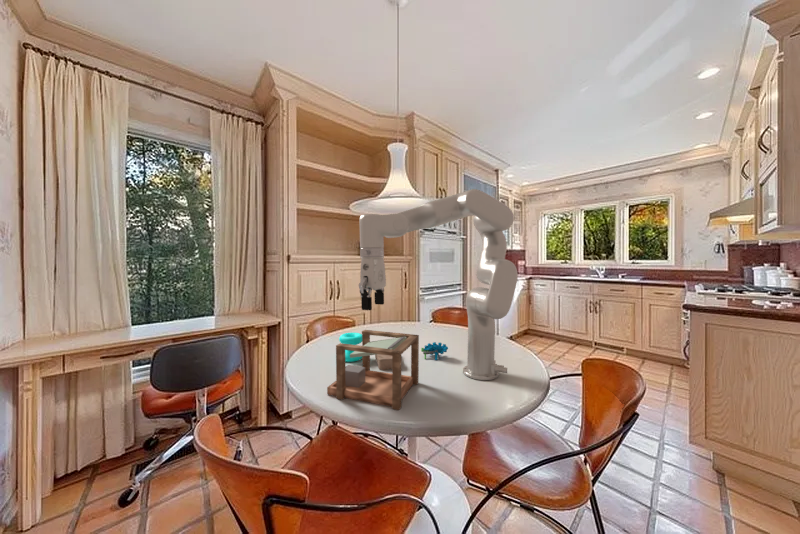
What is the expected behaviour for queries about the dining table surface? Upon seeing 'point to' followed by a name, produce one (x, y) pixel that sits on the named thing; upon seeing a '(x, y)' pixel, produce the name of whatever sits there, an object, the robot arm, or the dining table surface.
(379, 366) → the brick
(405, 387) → the frame
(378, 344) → the trapdoor
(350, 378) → the grey squarish block
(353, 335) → the donuts
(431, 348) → the gear
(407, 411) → the dining table surface
